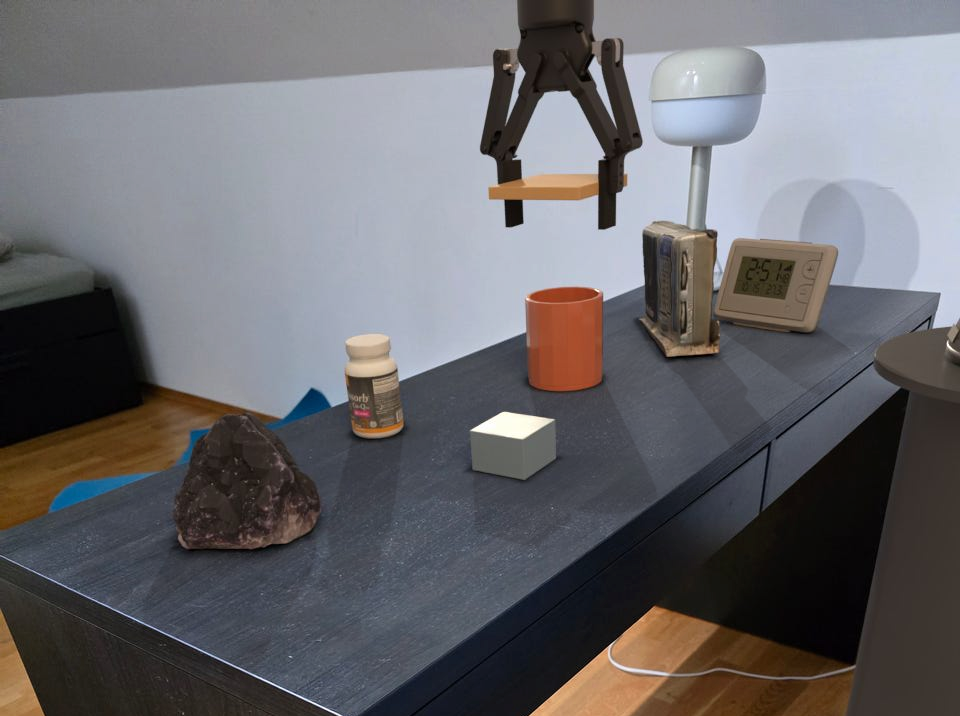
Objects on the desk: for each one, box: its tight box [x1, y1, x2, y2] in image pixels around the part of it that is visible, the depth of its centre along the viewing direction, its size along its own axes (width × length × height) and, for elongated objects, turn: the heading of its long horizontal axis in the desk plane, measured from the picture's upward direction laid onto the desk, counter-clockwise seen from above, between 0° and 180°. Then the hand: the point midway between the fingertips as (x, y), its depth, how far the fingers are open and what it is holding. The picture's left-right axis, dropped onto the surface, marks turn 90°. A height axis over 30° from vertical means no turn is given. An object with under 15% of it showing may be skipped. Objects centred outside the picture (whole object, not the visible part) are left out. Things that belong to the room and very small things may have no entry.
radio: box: [638, 220, 721, 358], centre depth 117 cm, size 23×9×15 cm, turn 175°
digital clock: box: [713, 237, 839, 333], centre depth 121 cm, size 16×9×11 cm, turn 31°
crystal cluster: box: [172, 412, 322, 550], centre depth 76 cm, size 13×14×10 cm
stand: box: [469, 411, 557, 481], centre depth 85 cm, size 6×6×4 cm
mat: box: [488, 173, 628, 201], centre depth 95 cm, size 11×11×1 cm
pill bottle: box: [344, 333, 404, 440], centre depth 94 cm, size 6×6×10 cm
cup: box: [524, 286, 604, 392], centre depth 106 cm, size 9×9×10 cm
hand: (559, 226), depth 97 cm, fingers closed on mat, 11 cm apart
